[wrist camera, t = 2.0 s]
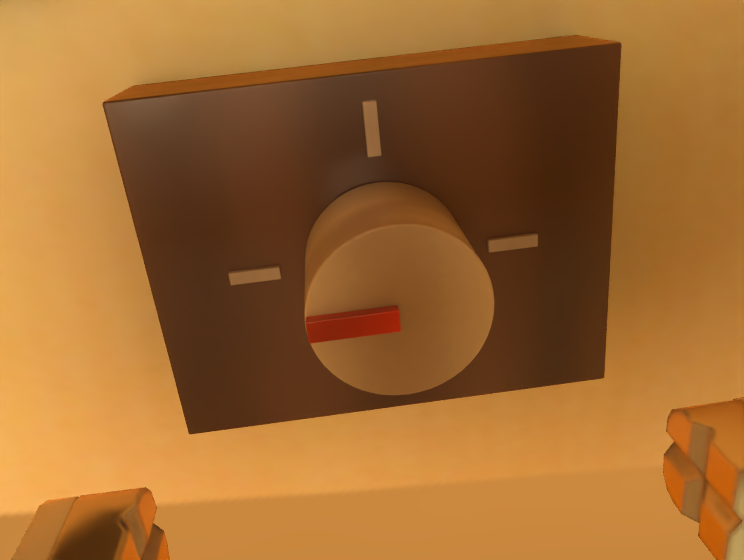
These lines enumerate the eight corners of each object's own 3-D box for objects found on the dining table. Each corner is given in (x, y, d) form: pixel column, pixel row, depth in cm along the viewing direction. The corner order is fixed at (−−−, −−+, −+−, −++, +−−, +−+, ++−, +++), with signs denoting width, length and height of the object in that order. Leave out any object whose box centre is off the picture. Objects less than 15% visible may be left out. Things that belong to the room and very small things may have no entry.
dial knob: (459, 171, 18) (496, 216, 14) (465, 318, 19) (500, 389, 16) (293, 192, 17) (290, 242, 14) (316, 337, 19) (318, 414, 16)
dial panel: (577, 34, 19) (624, 42, 16) (570, 333, 23) (606, 381, 21) (131, 85, 19) (99, 103, 16) (203, 382, 23) (187, 438, 20)
